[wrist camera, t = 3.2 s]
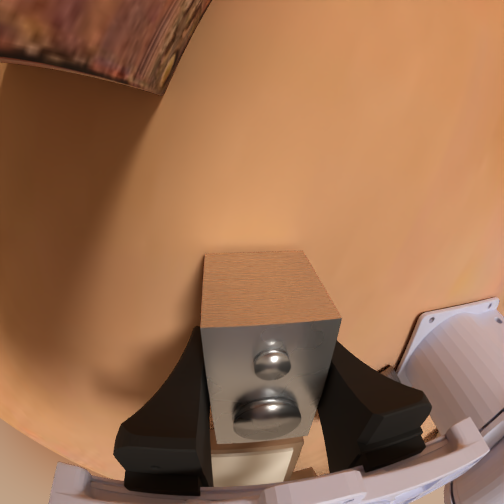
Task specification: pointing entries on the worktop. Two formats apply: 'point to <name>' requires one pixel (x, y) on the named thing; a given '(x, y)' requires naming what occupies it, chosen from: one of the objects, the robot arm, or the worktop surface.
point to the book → (101, 37)
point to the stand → (253, 461)
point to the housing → (265, 343)
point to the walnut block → (303, 474)
